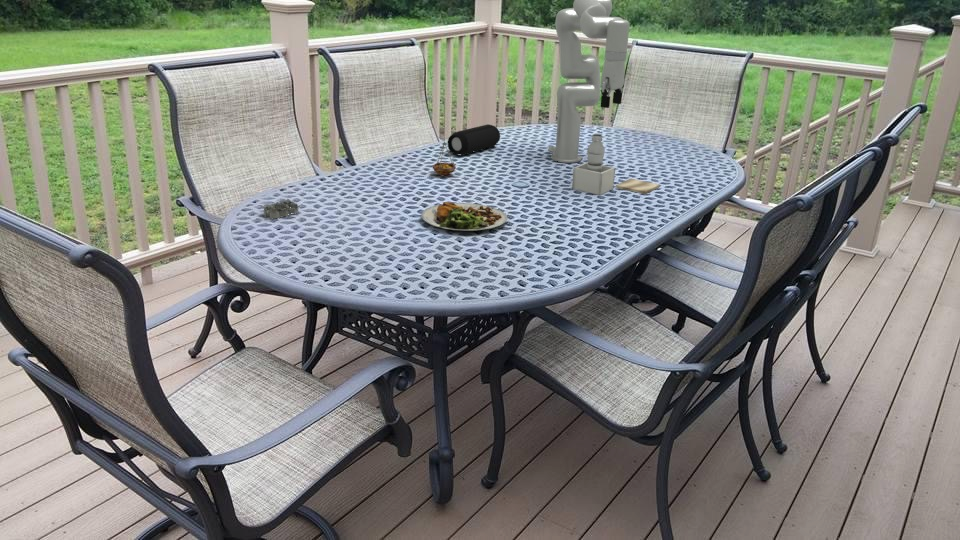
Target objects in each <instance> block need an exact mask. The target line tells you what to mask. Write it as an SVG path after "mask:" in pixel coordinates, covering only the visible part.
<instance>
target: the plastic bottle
mask: <svg viewBox="0 0 960 540" xmlns="http://www.w3.org/2000/svg"><path fill="white" fill-rule="evenodd" d="M591 137H592V138H591V143H589V145H588V146H587V149H586V150H587V153H586V154H587V162H588V166H587V170H590V171H595V172H599V173H601V172H602V165H603V161H604V156H605V152H606V149H605V146H604V145H603V143H602V141H603V135H602V134H598V133H597V134H596V133H595V134H592V136H591Z"/></svg>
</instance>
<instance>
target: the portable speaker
mask: <svg viewBox="0 0 960 540" xmlns="http://www.w3.org/2000/svg"><path fill="white" fill-rule="evenodd" d="M500 139H501V133H500V130H499V128H497V126H495V125H493V124H489V123H488V124H483V125H479V126H476V127H471V128H468V129H463V130H462V129H461V130H458V131H455V132H453V133H452V134H451V135H449V137H448V139H447V149H448V151H450V153H452V154H453V155H456V154H465V155H468V154H467V153H469V154H472V153H474V152H473V151H476V152H478V151H477V150H480V151H482V150H481V149H483V150H485V149H484V148H487V149H489V147H490V148H492V147H495V146H496V145H497V144H498V143H499V142H500ZM471 152H472V153H471Z"/></svg>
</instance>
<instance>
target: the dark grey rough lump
mask: <svg viewBox="0 0 960 540" xmlns="http://www.w3.org/2000/svg"><path fill="white" fill-rule="evenodd" d="M290 207H291V208H290ZM300 207H301V205H298V203H296V202H294V201H293V200H291V199H290V198H287V199H285V200H283V201H280V202H279V201H277V202H273V203H271V204H270V203H269V204H267V203H266V204H263V206H262V207H261V209H262V210H263V215H265V216H267V217H269V219H270V218H271V219H270V220H273V219H272V218H277V219H276V220H279V219H278V218H281V217H280V216H288V217H289V215H288V214H291V213H294V214H295V213H297V211H298V212H299V208H300ZM297 214H298V213H297ZM291 215H292V214H291ZM265 216H264V217H265Z"/></svg>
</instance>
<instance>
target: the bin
mask: <svg viewBox="0 0 960 540" xmlns="http://www.w3.org/2000/svg"><path fill="white" fill-rule="evenodd" d="M587 166H588V161H587V162H584V163H582V164H579V165H577V166H574V167H573V169H572V179H571V180H572V183H571V189H573V190H575V189H576V191H580V192H585V193H589V194H593V195H599V196H601V195H603V194H605V193H607V192H609V191H611V190H613V189H614V185H615V184H614V183H615V174H616V167H614V166H609V165H603V164H602V172H601V173H599V172H595V171H590V170H587Z"/></svg>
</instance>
